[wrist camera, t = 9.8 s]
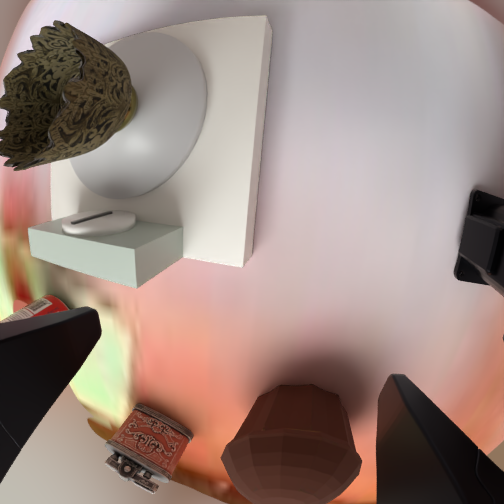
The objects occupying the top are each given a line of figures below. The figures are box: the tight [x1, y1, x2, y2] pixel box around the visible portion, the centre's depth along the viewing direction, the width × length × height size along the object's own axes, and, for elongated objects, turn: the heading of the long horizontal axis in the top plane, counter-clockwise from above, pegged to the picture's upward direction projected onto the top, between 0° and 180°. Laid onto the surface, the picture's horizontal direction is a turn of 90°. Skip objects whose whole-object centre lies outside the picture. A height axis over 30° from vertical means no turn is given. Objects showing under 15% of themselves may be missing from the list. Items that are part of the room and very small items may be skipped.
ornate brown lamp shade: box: [0, 20, 138, 171], centre depth 11 cm, size 8×7×8 cm
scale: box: [28, 15, 273, 288], centre depth 15 cm, size 18×16×8 cm
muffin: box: [221, 384, 362, 504], centre depth 18 cm, size 12×11×10 cm
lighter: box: [105, 404, 193, 494], centre depth 23 cm, size 8×3×10 cm, turn 69°
